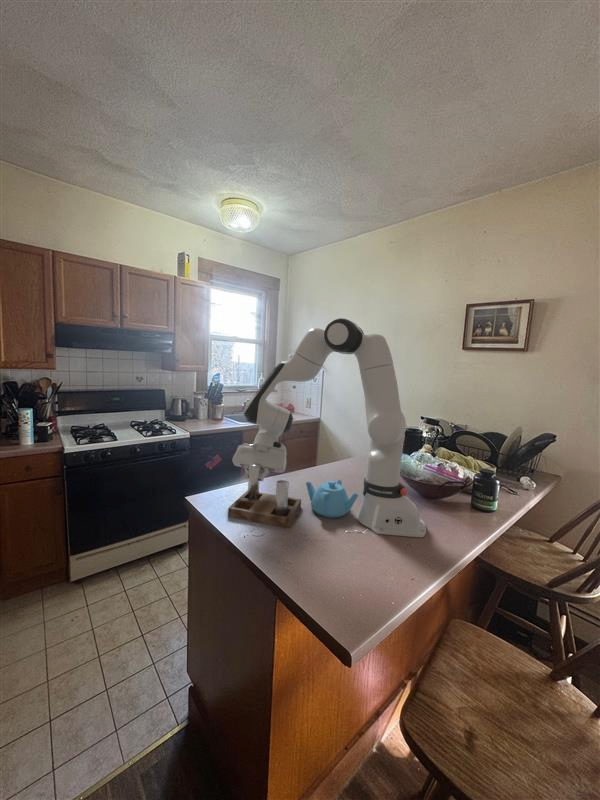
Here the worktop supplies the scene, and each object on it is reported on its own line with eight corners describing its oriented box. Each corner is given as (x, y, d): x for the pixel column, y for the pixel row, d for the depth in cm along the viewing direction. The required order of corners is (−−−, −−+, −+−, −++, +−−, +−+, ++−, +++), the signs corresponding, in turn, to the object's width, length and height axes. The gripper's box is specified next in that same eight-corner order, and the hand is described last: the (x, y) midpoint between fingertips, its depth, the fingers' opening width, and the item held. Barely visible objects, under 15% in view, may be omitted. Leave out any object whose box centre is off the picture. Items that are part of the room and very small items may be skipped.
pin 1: (260, 498, 118) (262, 464, 117) (256, 502, 114) (258, 467, 113) (250, 496, 119) (251, 462, 118) (245, 500, 115) (247, 465, 114)
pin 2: (287, 518, 108) (290, 481, 106) (284, 524, 104) (286, 485, 102) (276, 516, 109) (278, 479, 107) (272, 522, 105) (274, 483, 103)
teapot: (303, 502, 121) (304, 475, 120) (339, 499, 126) (341, 473, 125) (317, 522, 107) (319, 491, 106) (357, 518, 111) (360, 488, 110)
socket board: (300, 507, 117) (301, 499, 116) (288, 528, 101) (289, 519, 101) (247, 497, 122) (247, 490, 121) (227, 516, 106) (228, 508, 106)
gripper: (237, 438, 124) (224, 471, 115) (288, 445, 119) (278, 479, 111) (241, 447, 128) (229, 478, 120) (290, 453, 124) (281, 487, 115)
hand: (253, 479), depth 115 cm, fingers closed on pin 1, 4 cm apart
